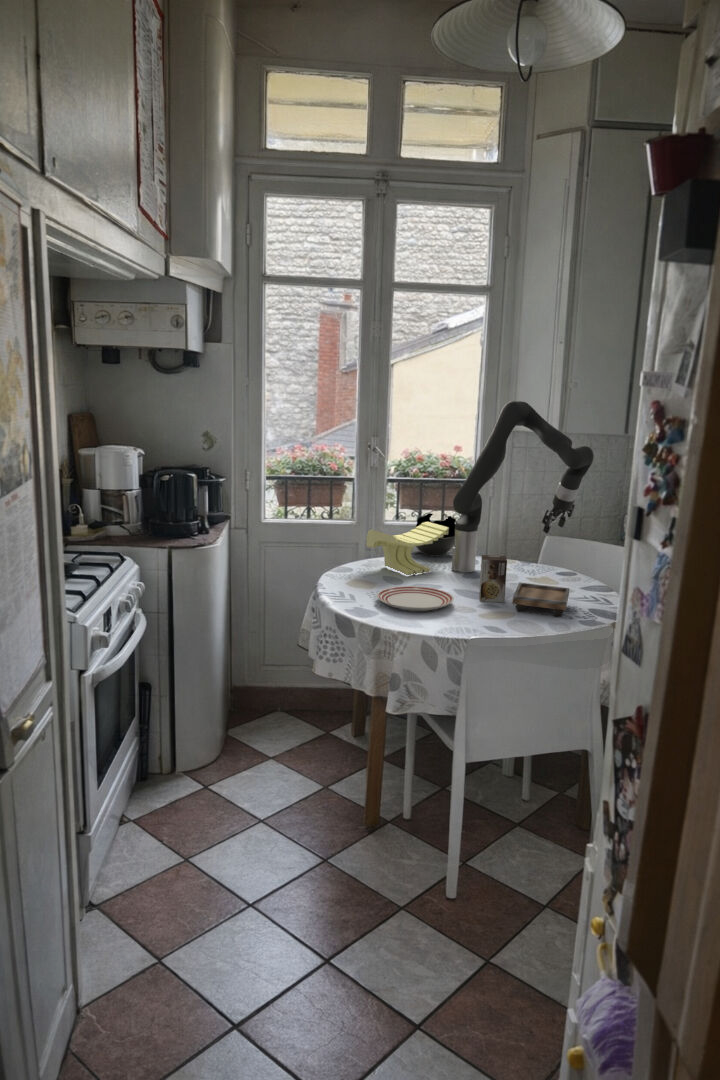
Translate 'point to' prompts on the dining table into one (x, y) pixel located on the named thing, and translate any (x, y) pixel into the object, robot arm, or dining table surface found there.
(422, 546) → the coal bowl
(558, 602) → the caster dolly
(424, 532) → the slatted curved stool
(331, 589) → the dining table surface
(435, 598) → the dinner plate
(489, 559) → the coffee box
